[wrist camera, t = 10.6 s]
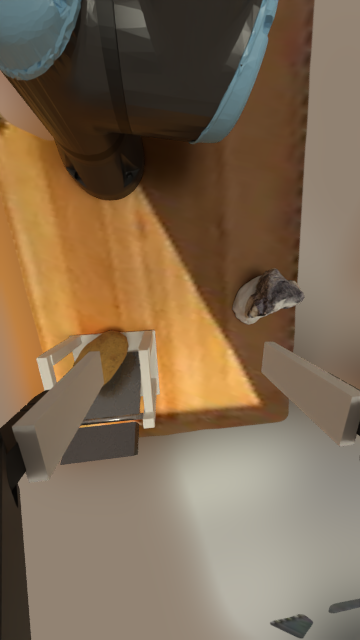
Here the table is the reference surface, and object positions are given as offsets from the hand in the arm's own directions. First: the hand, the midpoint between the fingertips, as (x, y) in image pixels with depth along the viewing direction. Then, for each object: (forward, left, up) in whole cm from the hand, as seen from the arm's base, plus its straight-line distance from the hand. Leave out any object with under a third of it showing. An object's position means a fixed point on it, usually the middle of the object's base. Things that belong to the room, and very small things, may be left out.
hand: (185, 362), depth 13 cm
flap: (+19, -14, -21) cm, 32 cm away
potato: (+12, -15, -24) cm, 31 cm away
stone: (-1, +21, -29) cm, 36 cm away
